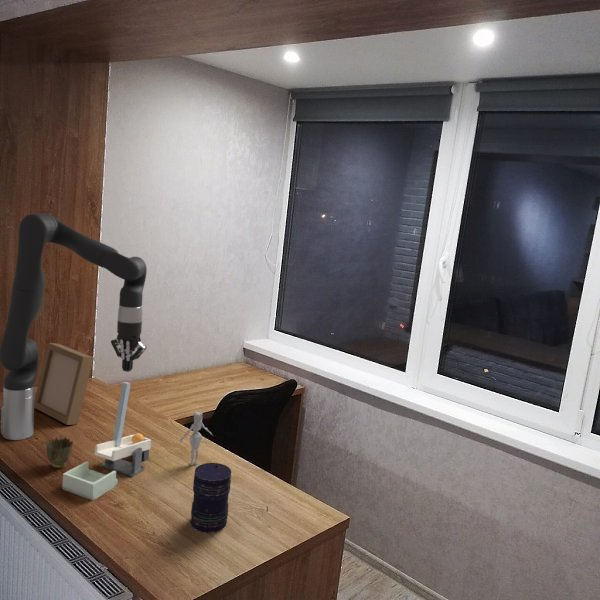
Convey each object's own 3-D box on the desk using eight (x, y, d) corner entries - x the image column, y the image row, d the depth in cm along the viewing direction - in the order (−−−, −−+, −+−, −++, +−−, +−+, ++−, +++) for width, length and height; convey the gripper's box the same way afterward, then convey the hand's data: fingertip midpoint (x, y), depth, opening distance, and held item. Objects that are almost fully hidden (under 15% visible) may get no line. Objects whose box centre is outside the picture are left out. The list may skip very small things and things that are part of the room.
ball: (128, 443, 180) (131, 432, 180) (135, 442, 183) (138, 431, 183) (137, 446, 178) (140, 435, 179) (144, 445, 182) (147, 434, 182)
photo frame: (66, 427, 200) (69, 359, 196) (32, 409, 212) (34, 345, 208) (102, 416, 212) (105, 352, 208) (68, 400, 224) (70, 339, 220)
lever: (91, 454, 168) (103, 384, 168) (130, 442, 185) (140, 379, 185) (115, 462, 165) (127, 391, 165) (152, 449, 182) (163, 385, 181)
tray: (62, 489, 161) (62, 473, 160) (88, 474, 170) (88, 460, 169) (92, 500, 157) (93, 484, 156) (117, 485, 166) (118, 470, 165)
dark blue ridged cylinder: (220, 536, 147) (225, 483, 144) (184, 529, 148) (188, 476, 145) (231, 516, 156) (236, 466, 154) (198, 509, 158) (202, 459, 155)
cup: (76, 468, 173) (77, 443, 171) (52, 475, 167) (52, 450, 166) (65, 459, 178) (66, 435, 176) (41, 465, 172) (42, 440, 171)
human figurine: (207, 458, 188) (211, 407, 185) (213, 463, 185) (217, 411, 182) (174, 466, 180) (178, 413, 177) (180, 471, 177) (184, 418, 174)
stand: (100, 466, 175) (101, 443, 174) (127, 451, 187) (128, 430, 186) (132, 477, 171) (133, 454, 170) (157, 461, 183) (158, 439, 181)
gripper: (105, 317, 180) (102, 369, 184) (139, 324, 176) (136, 378, 179) (121, 313, 187) (118, 363, 190) (154, 321, 182) (151, 372, 186)
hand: (127, 370), depth 185 cm, fingers closed
